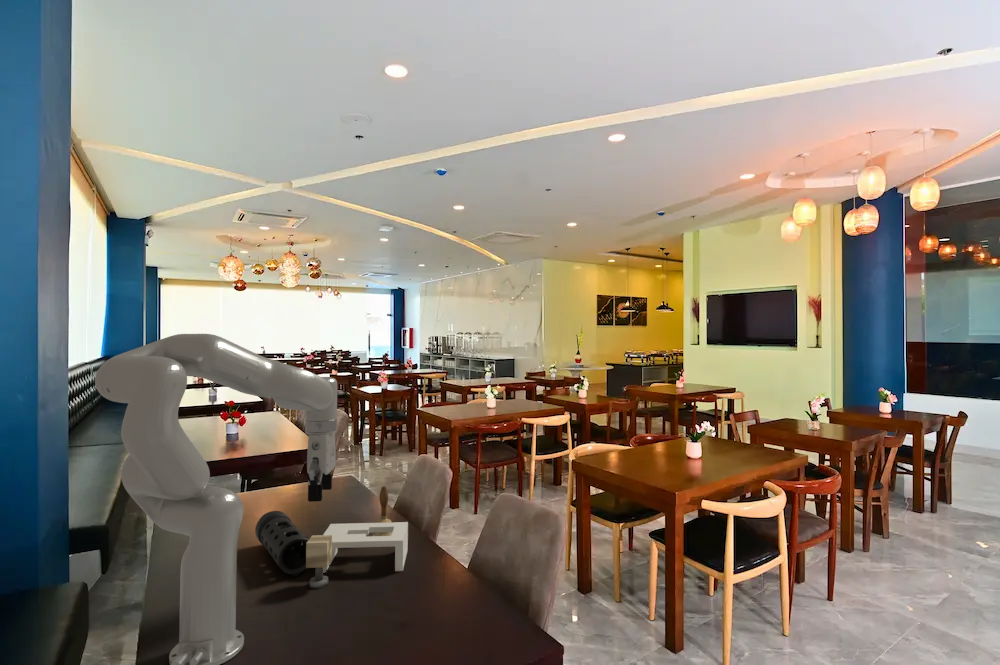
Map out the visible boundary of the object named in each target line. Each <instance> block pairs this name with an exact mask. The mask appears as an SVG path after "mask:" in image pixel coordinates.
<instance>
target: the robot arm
mask: <svg viewBox="0 0 1000 665" xmlns="http://www.w3.org/2000/svg"><path fill="white" fill-rule="evenodd" d="M188 377H198V378H202V379H203V380H207V381H209V382H212V383H215V384H218V385H221V386H224V387H226V388H229V389H232V390H234V391H237V392H239V393H241V394H246V395H250V396H255V397H260V398H272V399H273V401H274V402H273V403H274V404H276V405H277V406H278V407H279V408H282V409H284V410H289V411H290V410H292V411H293V410H295V411H305V417H304V419H305V420H304V424H305V425H304V426H305V427H304V428H305V429H304V433H305V434H306V435H308V440H307V453H306V455H307V456H306V469H307V470H306V471H307V474H308V478H307V480H308V481H307V501H308V502H311V503H312V502H313V503H314V502H322V501H323V491H327V490H328V491H329V490H332V488H333V473H332V472H333V470H334V468H336V465H337V459H336V454H337V453H336V452H337V451H336V437H335V434H336V433H337V432H338V381H337V379H336V378H334V377H332V376H331V377H330V376H320V375H318V374H315V373H314V372H312V371H308V370H307V369H303V368H301V367H298V366H295V365H291V364H287V363H284V362H280V361H278V360H275V359H271V358H268V357H265V356H262V355H260V354H258V353H255V352H254V351H252V350H249V349H247V348H245V347H243V346H241V345H238V344H236V343H234V342H233V341H230V340H228V339H226V338H224V337H221V336H219V335H216V334H211V333H178V334H175V335H174V334H173V335H170V336H167V337H164V338H160V339H158V340H155V341H153V342H150V343H148V344H145V345H141V346H139V347H136V348H134V349H130V350H128V351H125V352H122V353H119V354H116V355H114V356H113V357H111V358H109V359H107V360H106V361H104V363H102V364H101V365H100V366H99V368H98V369H97V371H96V373H95V377H94V384H95V388H96V389H97V392H98V393H99V394H100V396H102V397H103V398H104V399H106V400H108V401H111V402H115V403H121V404H127V406H126V409H125V411H124V416H123V420H122V424H121V429H120V430H121V431H120V436H121V440H122V442H123V443H122V444H123V446H124V448H125V449H126V451H127V452H128V453H129V454H128V456H127V457H126V458H125V460H124V461H123V464H122V467H121V471H120V472H121V473H120V474H121V475H120V477H121V483H122V485H123V487H124V489H125V491H126V492H127V494H128V495H129V496H130V498H132V500H133V501H134V502H135V504H136V505H138V507H139V508H140V509H141V510H142V511H143V512H144V513H145V515H146V516H147V517H148V518H149V519H150V520H151V521H152V522H153V524H155V525H156V526H158V527H159V528H160V529H162V530H165V531H168V532H171V533H175V534H180V535H184V536H187V537H189V540H188V544H187V546H186V548H185V551H184V553H183V555H182V557H181V560H180V561H181V562H180V575H179V576H180V580H179V582H180V583H179V586H180V587H179V588H180V589H179V592H180V593H179V631H178V632H179V633H178V636H179V639H178V640H179V641H178V643H177V644H176V645H174V647H173V648H172V649H171V651H170V652H169V655H168V662H169V665H221V664H224V663H227V662H228V661H229V660H231V659H232V658H234V657H235V656H236V655H237V654H239V652H240V651H241V650H242V649H243V647H244V645H245V635H244V633H242V632H241V631H240V630H238V629H236V628H237V627H236V626H237V624H236V620H237V617H236V616H237V573H238V572H237V570H238V569H237V568H238V566H237V560H238V559H237V558H238V541H239V535H240V531H241V526H242V523H243V522H242V521H243V517H244V505H243V504H244V503H243V501H242V499H241V498H240V496H239V495H238V494H237V493H236V492H234V491H233V490H231V489H228V488H225V487H220V486H216V485H215V486H214V485H208V484H209V482H210V479H211V478H210V477H211V473H210V472H211V471H210V467H209V465H208V463H207V462H206V460H205V459H204V457H203V455H201V453H200V451H199V450H198V449H197V448H196V446H195V444H194V443H193V442H192V441H191V439H190V438H189V436H188V435H187V434H186V432H185V431H184V429H183V427H182V426H181V424H180V420H179V408H180V405H181V401H182V399H183V397H184V395H185V393H186V389H187V386H188V385H187V384H188Z"/></svg>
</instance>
